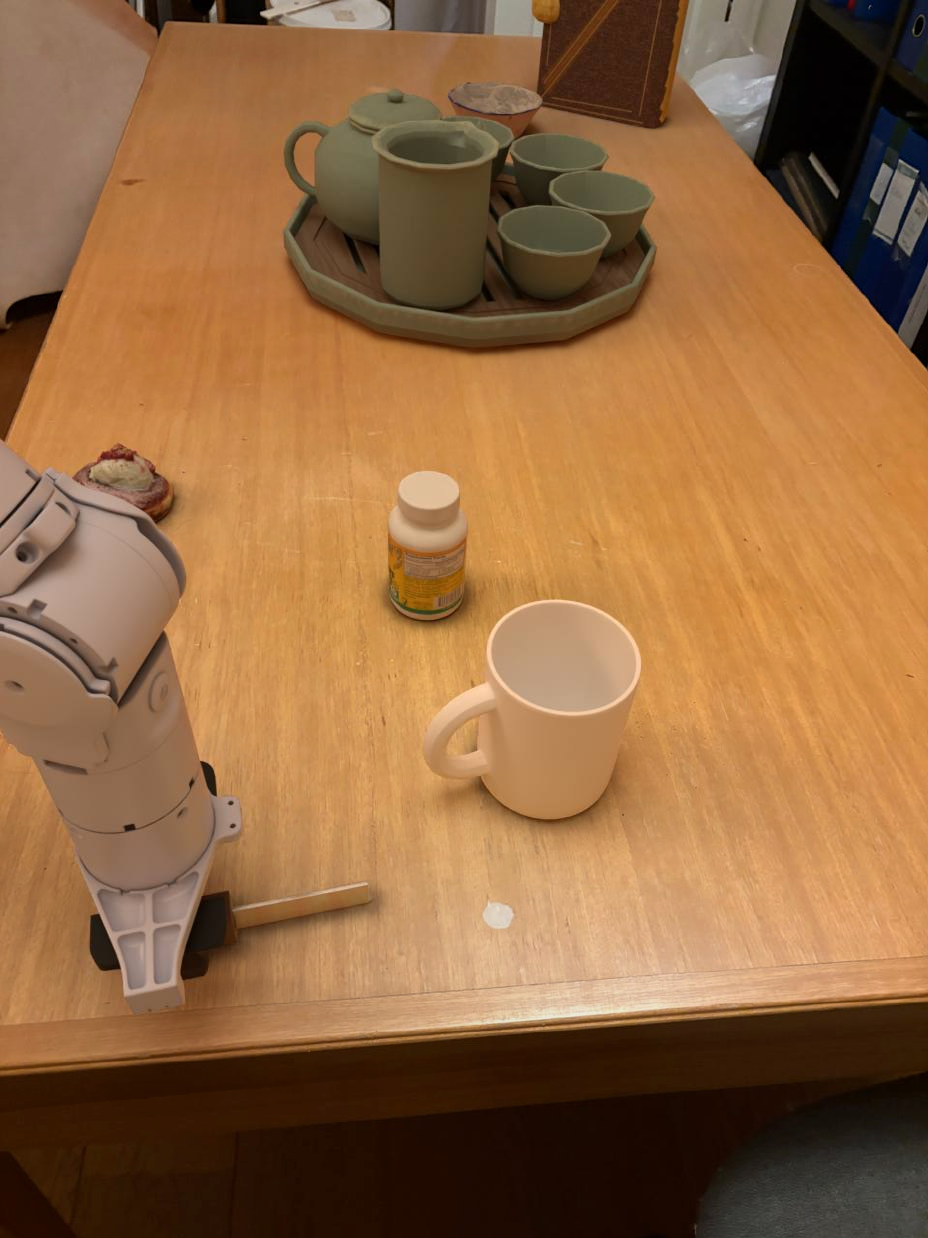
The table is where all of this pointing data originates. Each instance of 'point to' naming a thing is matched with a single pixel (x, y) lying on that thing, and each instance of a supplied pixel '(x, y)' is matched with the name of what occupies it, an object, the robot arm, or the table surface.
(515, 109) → the bowl
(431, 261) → the tea set
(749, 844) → the table surface
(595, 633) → the mug
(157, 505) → the pastry
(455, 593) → the supplement bottle
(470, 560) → the table surface
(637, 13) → the book
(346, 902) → the knife
